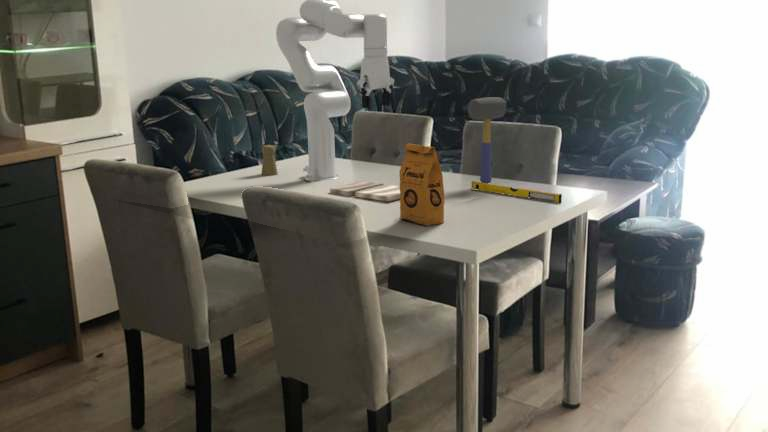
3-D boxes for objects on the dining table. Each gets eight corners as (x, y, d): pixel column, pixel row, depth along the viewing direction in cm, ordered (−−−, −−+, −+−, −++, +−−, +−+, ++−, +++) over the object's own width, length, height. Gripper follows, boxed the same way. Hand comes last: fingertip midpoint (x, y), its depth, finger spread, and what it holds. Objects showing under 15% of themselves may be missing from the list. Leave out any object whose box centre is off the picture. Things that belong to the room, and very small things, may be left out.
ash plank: (355, 196, 263) (355, 191, 263) (385, 189, 274) (385, 184, 274) (388, 201, 254) (388, 196, 254) (418, 193, 265) (418, 188, 265)
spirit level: (471, 190, 277) (471, 181, 277) (473, 189, 278) (474, 181, 278) (559, 204, 255) (559, 194, 255) (561, 203, 256) (561, 194, 256)
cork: (280, 173, 310) (279, 144, 307) (270, 176, 305) (269, 146, 303) (268, 172, 313) (267, 143, 311) (258, 174, 308) (256, 145, 306)
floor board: (328, 195, 270) (327, 188, 269) (362, 187, 282) (362, 180, 282) (388, 206, 253) (388, 198, 253) (422, 197, 266) (422, 189, 265)
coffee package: (423, 228, 227) (423, 149, 221) (395, 220, 236) (394, 144, 231) (450, 222, 233) (450, 145, 227) (421, 215, 242) (421, 140, 237)
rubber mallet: (478, 188, 279) (479, 99, 272) (464, 184, 286) (465, 97, 279) (506, 183, 286) (508, 97, 279) (492, 180, 292) (494, 95, 285)
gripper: (384, 52, 274) (384, 103, 278) (348, 54, 262) (349, 108, 266) (401, 52, 270) (401, 105, 274) (366, 55, 257) (367, 109, 261)
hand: (376, 106), depth 270 cm, fingers open, 9 cm apart
